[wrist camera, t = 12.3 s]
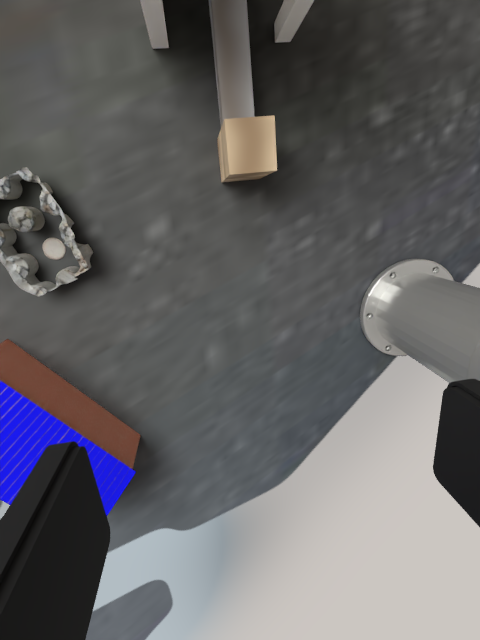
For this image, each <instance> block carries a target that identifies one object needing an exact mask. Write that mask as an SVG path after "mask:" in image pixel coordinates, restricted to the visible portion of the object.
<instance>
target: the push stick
mask: <svg viewBox="0 0 480 640" xmlns="http://www.w3.org/2000/svg"><path fill="white" fill-rule="evenodd" d="M209 10H210V20H211V31H212V41H213V51H214V61H215V71H216V82H217V92H218V102H219V112H220V122H221V130H220V133H219V136H218V139H217V142H218V152H219V162H220V171H221V181H222V182H232V181H243V180H254V179H260V178H262V177H264V176H267V175H269V174H271V173H273V172H275V171H277V156H276V136H275V116H260V117H255V116H254V101H253V87H252V72H251V57H250V42H249V27H248V13H247V0H209Z"/></svg>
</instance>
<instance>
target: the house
mask: <svg viewBox="0 0 480 640" xmlns="http://www.w3.org/2000/svg"><path fill="white" fill-rule="evenodd" d="M139 440H140V434H138V433H137V432H136V431H134V430H133V429H131V428H130V427H129V426H127V425H126V424H125V423H123V422H122V421H120V420H119V419H118V418H116V417H115V416H113V415H112V414H111V413H109V412H108V411H107V410H105V409H104V408H102V407H101V406H100V405H98V404H97V403H96V402H94V401H93V400H91V399H90V398H89V397H87V396H86V395H85V394H83V393H82V392H80V391H79V390H78V389H76V388H75V387H73V386H72V385H71V384H69V383H68V382H67V381H65V380H64V379H62V378H61V377H60V376H58V375H57V374H56V373H54V372H53V371H51V370H50V369H49V368H47V367H46V366H44V365H43V364H42V363H40V362H39V361H38V360H36V359H35V358H33V357H32V356H31V355H29V354H28V353H27V352H25V351H24V350H22V349H21V348H20V347H18V346H17V345H15V344H14V343H13V342H11V341H10V340H9V339H7V340H5V341H4V342H2V343H1V344H0V500H2V501H4V502H6V503H8V504H9V505H11V503H12V502H13V500H14V498H15V497H16V495H17V494H18V492H19V490H20V489H21V487H22V485H23V484H24V482H25V481H26V479H27V477H28V476H29V474H30V473H31V471H32V469H33V468H34V466H35V465H36V463H37V461H38V460H39V458H40V456H41V455H42V453H43V452H44V450H45V449H46V447H47V446H49V445H53V444H59V443H66V442H72V441H74V442H76V443H77V444H78V446H79V447H80V446H84V447H85V448H86V450H87V453H88V457H89V460H90V463H91V467H92V470H93V473H94V477H95V480H96V483H97V487H98V490H99V493H100V496H101V500H102V503H103V506H104V510H105V513H106V516H107V515H108V514H109V512H110V511H111V509H112V508H113V506H114V504H115V503H116V501H117V500H118V498H119V497H120V495H121V494H122V492H123V491H124V489H125V488H126V486H127V485H128V483H129V482H130V480H131V479H132V477H133V476H134V474H135V473H136V471H134V470H133V465H134V461H135V457H136V452H137V448H138V444H139Z"/></svg>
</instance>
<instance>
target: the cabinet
mask: <svg viewBox="0 0 480 640" xmlns="http://www.w3.org/2000/svg"><path fill="white" fill-rule="evenodd" d="M140 2H141V6H142V10H143V14H144V18H145V22H146V26H147V30H148V34H149V38H150V42H151V45H152V49H159V48H169V45H168V38H167V31H166V23H165V16H164V8H163V1H162V0H140ZM313 2H314V0H284V1H283V4H282V6H281V8H280V11H279V13H278V15H277V18H276V20H275V22H274V32H275V43H279V42H291V40H292V38H293V36H294V35H295V33H296V31H297V30H298V28H299V26H300V24H301V23H302V21H303V19H304V17H305V16H306V14H307V12H308V11H309V9H310V7H311V5H312V4H313Z"/></svg>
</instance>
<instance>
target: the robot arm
mask: <svg viewBox="0 0 480 640" xmlns="http://www.w3.org/2000/svg"><path fill="white" fill-rule="evenodd" d="M360 322H361V327H362V330H363V333H364V335H365V337H366V338H367V340H368V341H369V342H370V343H371V344H372V345H373V346H374V347H376V348H377V349H378V350H380V351H382V352H383V353H386V354H389V355H393V356H406V355H409V356H410V357H412V358H413V359H415V360H416V361H418V362H419V363H421V364H422V365H424V366H425V367H427V368H428V369H430V370H431V371H433V372H434V373H436V374H437V375H439V376H440V377H441V378H443V379H444V380H446V381H448V382H449V385H448V387H447V388H446V389H445V390H444V392H443V397H442V405H441V412H440V420H439V427H438V434H437V442H436V450H435V456H434V465H433V470H434V474H435V476H436V478H437V480H438V481H439V482H440V484H441V485H442V486H443V487H444V488H445V489H446V490H447V491H448V492H449V494H450V495H451V496H452V497H453V498H454V499H455V500H456V501H457V502H458V504H460V506H461V507H462V508H463V509H464V510H465V511H466V512H467V513H468V515H469V516H470V517H471V518H472V519H473V520H474V521H475V522H476V523H477V525H478V526H479V527H480V288H477V287H473V286H470V285H466V284H462V283H459V282H455V281H454V279H453V277H452V276H451V274H450V273H449V272H448V270H447V269H445V268H444V267H443V266H442V265H440V264H438V263H436V262H433V261H429V260H425V259H408V260H404V261H401V262H397V263H395V264H393V265H392V266H390V267H388V268H387V269H385V270H384V271H383V272H381V273H380V274H379V275H378V276H377V277H376V278H375V279H374V280H373V282H372V283H371V285H370V286H369V288H368V289H367V291H366V293H365V296H364V298H363V301H362V305H361V309H360ZM109 542H110V527H109V523H108V520H107V516H106V513H105V510H104V506H103V503H102V500H101V496H100V493H99V490H98V487H97V483H96V480H95V477H94V473H93V470H92V467H91V463H90V460H89V457H88V453H87V450H86V448H85V447H84V446H80V447H79V446H78V444H77V443H76V442H74V441H72V442H66V443H59V444H53V445H49V446H47V447H46V449H45V450H44V452H43V453H42V455H41V456H40V458H39V460H38V461H37V463H36V465H35V466H34V468H33V469H32V471H31V473H30V474H29V476H28V477H27V479H26V481H25V482H24V484H23V485H22V487H21V489H20V490H19V492H18V494H17V495H16V497H15V498H14V500H13V502H12V503H11V505H10V506H9V508H8V510H7V511H6V513H5V515H4V516H3V517H2V518H1V520H0V640H85V638H86V635H87V631H88V627H89V623H90V619H91V615H92V611H93V607H94V603H95V599H96V595H97V591H98V587H99V582H100V579H101V575H102V571H103V567H104V563H105V559H106V555H107V551H108V547H109Z"/></svg>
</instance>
